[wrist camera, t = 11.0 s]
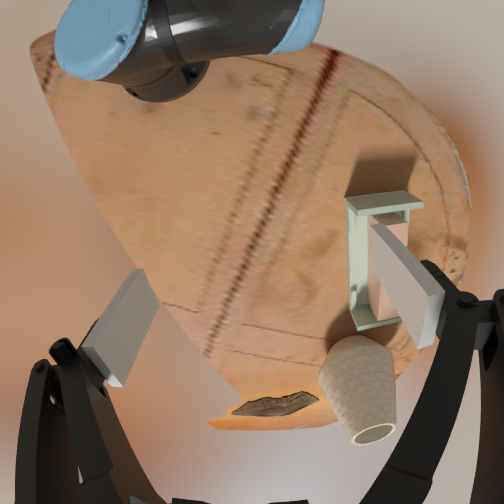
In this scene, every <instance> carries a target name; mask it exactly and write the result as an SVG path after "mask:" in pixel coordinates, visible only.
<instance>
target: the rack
mask: <svg viewBox="0 0 504 504" xmlns="http://www.w3.org/2000/svg"><path fill="white" fill-rule="evenodd" d="M344 202H345V215H346V230H347V249H348V283H349V310H350V313H351V315H352V318H353V320H354V323H355V325H356V328H357V331H360V330H365V329H370V328H374V327H379V326H383V325H387V324H391V323H395V322H399V321H402V319H401V318H400V316H398V317H393V318H389V319H385V320H380V321H377V319H376V317H375V315H374V313H373V311H372V309H371V307H370V305H369V303H368V301H367V299H366V296H367V265H368V234H367V215H374V214H381V213H388V212H395V213H397V214H398V215H399V216H401V217H402V218H403V219H404V220H406V221H407V222H408V223H409V210H410V209H417V208H423V206H424V201H422V200H420V199H418V198H417V197H415V196H413V195H411V194H410V193H408V192H406V191H404V190H400V191H391V192H382V193H374V194H366V195H358V196H351V197H344Z"/></svg>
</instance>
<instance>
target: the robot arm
mask: <svg viewBox="0 0 504 504" xmlns="http://www.w3.org/2000/svg"><path fill="white" fill-rule="evenodd" d="M324 2H325V0H72V1H71V3H70V4H69V6H68V8H67V10H66V11H65V13H64V14H63V15H62V17H61V19H60V22H59V24H58V27H57V30H56V34H55V41H54V50H55V56H56V59H57V61H58V63H59V65H60V66H61V68H62V69H64V71H66V72H67V73H69V74H71V75H74V76H77V77H80V78H81V79H83V80H88V81H89V80H90V81H93V80H96V81H103V82H109V83H115V84H120V85H122V86H123V87H124V88H125V90H126V91H127V92H128V93H129V94H131V95H132V96H134V97H136V98H138V99H140V100H143V101H148V102H156V103H161V102H168V101H172V100H175V99H178V98H180V97H182V96H184V95H186V94H187V93H189V92H190V91H191V90H192V89H194V88H195V87H196V86H197V85H198V84H199V82H200V81H201V80H202V78H203V77H204V75H205V73H206V72H207V69H208V66H209V63H210V60H211V59H218V58H225V57H234V56H243V55H255V54H262V55H271V54H274V53H282V52H296V51H299V50H301V49H303V48H306V47H307V46H308V45H309V44H310V43H311V42H312V40H313V39H314V37H315V36H316V33H317V31H318V29H319V26H320V23H321V19H322V15H323V9H324ZM370 242H371V269H372V271H373V272H374V274H375V276H376V277H377V279H378V280H379V282H380V284H381V285H382V287H383V288H384V290H385V292H386V293H387V295H388V297H389V299H390V300H391V302H392V304H393V305H394V307H395V309H396V310H397V312H398V314H399V316H400V318H401V319H402V321H403V323H404V325H405V326H406V328H407V330H408V332H409V334H410V336H411V337H412V339H413V341H414V343H415V345H416V347H417V349H420V348H423V347H426V346H429V345H432V344H433V342H434V338H435V335H437V337H438V338H439V340H440V341H439V345H438V348H437V351H436V354H435V357H434V360H433V363H432V366H431V369H430V371H429V374H428V377H427V379H426V382H425V385H424V387H423V390H422V392H421V395H420V397H419V399H418V402H417V404H416V406H415V408H414V411H413V413H412V415H411V417H410V419H409V421H408V424H407V426H406V428H405V430H404V432H403V434H402V436H401V437H400V439H399V442H398V443H397V445H396V447H395V449H394V450H393V452H392V454H391V456H390V457H389V459H388V461H387V463H386V464H385V466H384V467H383V469H382V471H381V472H380V474H379V475H378V477H377V479H376V480H375V482H374V483H373V485H372V486H371V488H370V489H369V491H368V492H367V494H366V495H365V496H364V498H363V499H362V500H361V502H360V503H359V504H422V503H423V502H424V500H425V498H426V496H427V494H428V492H429V490H430V488H431V485H432V478H433V474H434V472H435V470H436V468H437V466H438V463H439V461H440V459H441V457H442V454H443V452H444V450H445V447H446V445H447V442H448V440H449V437H450V435H451V431H452V429H453V426H454V423H455V420H456V417H457V414H458V411H459V408H460V405H461V401H462V398H463V394H464V391H465V386H466V383H467V379H468V375H469V370H470V366H471V361H472V356H473V350H477V349H478V353H479V365H480V379H481V380H480V381H481V423H480V424H481V425H480V439H479V451H478V458H477V467H476V472H475V478H474V484H473V489H472V494H471V499H470V504H504V289H499V290H497V291H496V292H495V294H494V296H493V300H484V301H479V300H478V298H477V297H476V296H475V295H473V294H472V293H469V292H462V291H461V292H460V291H459V290H458V289H457V287H456V286H455V285H454V284H453V283H452V282H451V281H450V280H449V278H448V277H447V276H445V274H444V273H443V272H442V271H441V270H440V269H439V268H438V267H437V265H436V264H434V263H432V262H430V261H428V260H427V259H426V260H422V261H419V260H418V259H417V258H416V257H415V256H414V255H413V254H412V253H411V252H410V251H409V250H408V249H407V247H406V246H405V245H404V244H403V243H402V242H401V241H400V240H399V239H398V238H397V237H396V236H395V235H394V234H393V233H392V232H391V231H390V230H389V229H388V228H387V227H386V226H385V225H384V224H383V223H378V224H373V225H370ZM158 308H159V303H158V301H157V299H156V297H155V295H154V292H153V290H152V288H151V286H150V284H149V282H148V279H147V277H146V275H145V273H144V270H143V269H138V270H133V271H132V272H131V273H130V275H129V276H128V277H127V279H126V280H125V281H124V283H123V284H122V286H121V287H120V289H119V290H118V292H117V293H116V294H115V296H114V297H113V299H112V300H111V301H110V303H109V305H108V306H107V307H106V309H105V310H104V312H103V313H102V315H101V317H100V318H98V319H97V320H96V321H95V322H94V324H93V325H92V327H91V328H90V330H89V331H88V333H87V335H86V336H85V338H84V339H83V341H82V342H81V344H80V346H79V347H78V349H77V350H76V349H75V347H74V346H73V345H72V343H71V342H70V340H69V339H68V338H62V339H59V340H58V341H56V342H55V343H54V344H53V345H52V346H51V348H50V350H49V354H50V355H51V356H52V357H53V359H54V360H55V362H56V363H57V365H53V366H52V365H51V364H50V363H49V361H48V360H47V359H42V360H40V361H38V362H37V363H35V365H34V367H33V368H32V370H31V374H30V378H29V382H28V387H27V391H26V395H25V400H24V405H23V410H22V416H21V423H20V429H19V437H18V445H17V455H16V472H15V503H14V504H167V503H166V502H165V501H164V500H163V499H162V498H161V497H160V496H159V495H158V494H157V493H156V491H155V490H154V488H153V487H152V485H151V483H150V481H149V480H148V478H147V476H146V474H145V473H144V471H143V469H142V467H141V465H140V464H139V462H138V460H137V458H136V456H135V454H134V452H133V450H132V448H131V446H130V444H129V442H128V440H127V437H126V435H125V433H124V431H123V429H122V426H121V424H120V422H119V419H118V417H117V415H116V412H115V410H114V407H113V405H112V402H111V399H110V397H109V394H108V391H107V389H106V387H105V386H104V385H103V382H104V380H105V379H106V380H107V382H108V383H109V384H110V385H111V386H112V387H124V384H125V382H126V380H127V377H128V375H129V373H130V370H131V368H132V366H133V363H134V361H135V358H136V356H137V354H138V352H139V349H140V347H141V345H142V343H143V340H144V338H145V336H146V334H147V331H148V329H149V327H150V325H151V323H152V320H153V318H154V316H155V314H156V312H157V310H158ZM50 396H51V397H52V398H53V399H54V404H53V403H52V402H51V400H50ZM78 466H79V470H80V472H81V476H82V479H83V483H81V484H80V483H79V473H78ZM171 504H209V503H206V502H203V501H194V500H186V499H178V498H172V503H171ZM269 504H309V502H308V500H299V501H289V502H275V503H269Z"/></svg>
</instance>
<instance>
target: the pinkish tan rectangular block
mask: <svg viewBox="0 0 504 504" xmlns="http://www.w3.org/2000/svg"><path fill="white" fill-rule="evenodd" d="M378 223H383V224H384V225H385V226H386V227H387V228H388V229H389V230H390V231H391V232H392V233H393V234H394V235H395V236H396V237H397V238H398V239H399V240H400V241H401V242H402V243H403V244H404V245H405V246H406V247H407V241H408V222H407V221H406V220H404V219H403V218H402V217H401V216H399V215H398V214H397V213H395V212H388V213H381V214H374V215H367V234H368V265H367V296H366V299H367V301H368V303H369V305H370V307H371V309H372V311H373V313H374V315H375V317H376V319H377V321H380V320H385V319H389V318H393V317H398V316H399V314H398V312H397V310H396V309H395V307H394V305H393V304H392V302H391V300H390V299H389V297H388V295H387V293H386V292H385V290H384V288H383V287H382V285H381V284H380V282H379V280H378V279H377V277H376V276H375V274H374V272H373V271H372V269H371V242H370V225H373V224H378Z"/></svg>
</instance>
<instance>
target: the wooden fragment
mask: <svg viewBox="0 0 504 504" xmlns="http://www.w3.org/2000/svg"><path fill="white" fill-rule="evenodd" d="M317 401H319V399H317V398H316V397H315V396H314V395H310V394H309V393H305V392H303V391H301V392H299V393H297V394H294V395H291V396H286V397H282V398H279V399H278V398H276V399H272V398H264V399H261V400H258V401H254V402H247V403H245V404H244V405H242V407H240V408H239V409H238V410H237V411H233V412H232V413H231V415H241V416H266V417H268V416H285V414H286V415H289V414H292V413H294V412H296V411H298V410H300V409H302V408H304V407H307V406H309V405H310V404H312V403H315V402H317Z"/></svg>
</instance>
